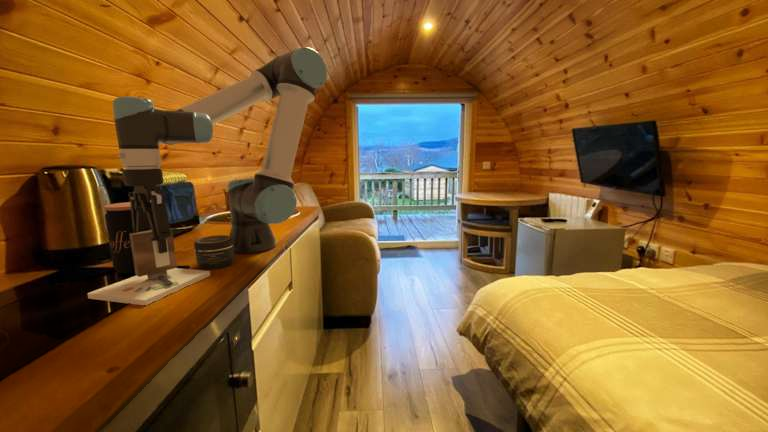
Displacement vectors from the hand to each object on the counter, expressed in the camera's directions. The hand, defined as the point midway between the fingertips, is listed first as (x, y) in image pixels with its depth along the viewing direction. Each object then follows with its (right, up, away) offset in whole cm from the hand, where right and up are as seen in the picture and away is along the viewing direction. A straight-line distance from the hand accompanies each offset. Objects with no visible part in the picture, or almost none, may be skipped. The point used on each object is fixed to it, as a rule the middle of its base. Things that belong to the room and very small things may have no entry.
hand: (155, 262), depth 81 cm
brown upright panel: (+3, -4, -2) cm, 5 cm away
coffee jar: (-13, -3, +13) cm, 19 cm away
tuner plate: (+1, -5, -1) cm, 6 cm away
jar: (+8, -3, +14) cm, 16 cm away
